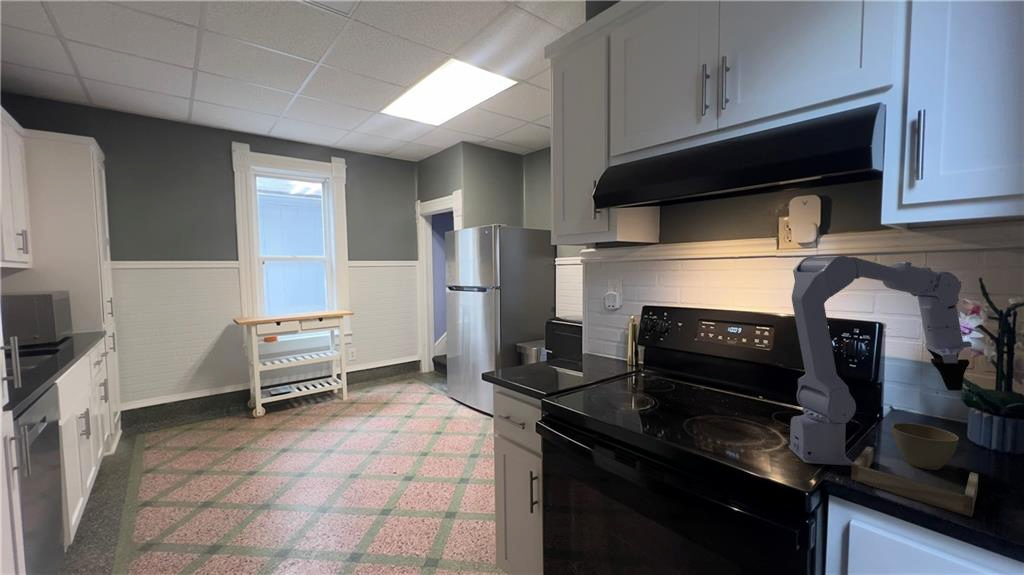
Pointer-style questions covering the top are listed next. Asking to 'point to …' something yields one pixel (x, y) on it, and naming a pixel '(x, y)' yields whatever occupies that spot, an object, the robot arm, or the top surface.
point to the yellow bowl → (924, 445)
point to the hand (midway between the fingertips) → (951, 383)
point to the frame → (915, 486)
